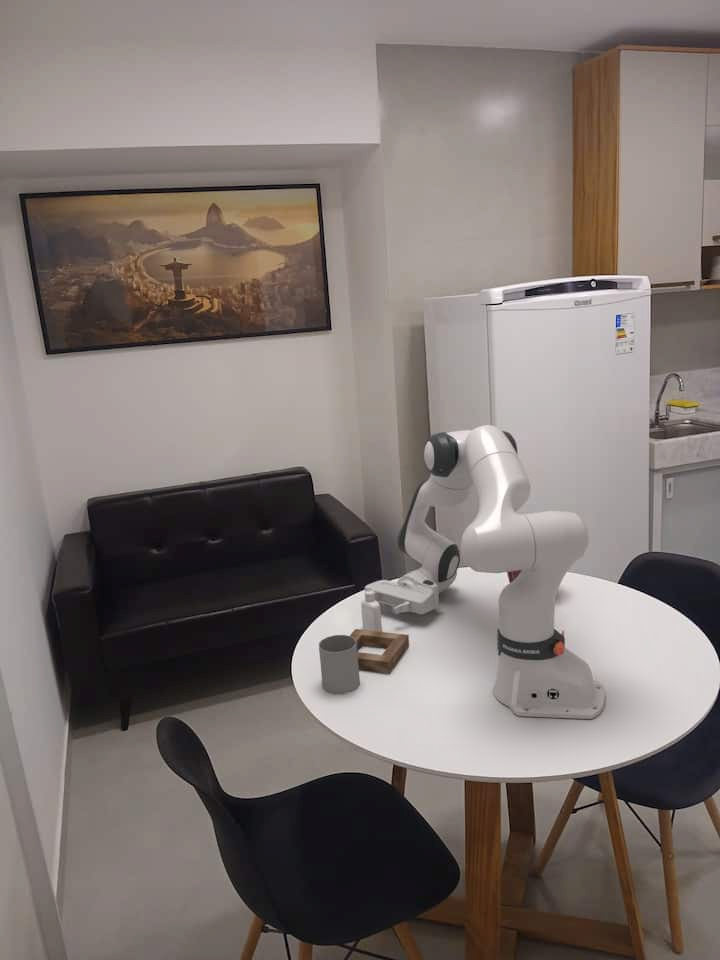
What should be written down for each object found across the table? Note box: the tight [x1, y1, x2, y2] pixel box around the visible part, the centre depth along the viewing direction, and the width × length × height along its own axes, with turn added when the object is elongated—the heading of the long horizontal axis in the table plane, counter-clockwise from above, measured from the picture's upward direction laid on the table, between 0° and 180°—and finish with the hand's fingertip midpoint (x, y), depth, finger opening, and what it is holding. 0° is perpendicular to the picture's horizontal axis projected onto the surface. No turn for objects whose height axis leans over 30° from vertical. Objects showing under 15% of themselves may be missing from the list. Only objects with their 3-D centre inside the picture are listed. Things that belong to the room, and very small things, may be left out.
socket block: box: [349, 628, 410, 675], centre depth 174 cm, size 14×14×3 cm
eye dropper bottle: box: [360, 587, 383, 632], centre depth 186 cm, size 4×6×12 cm
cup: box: [318, 634, 361, 695], centre depth 161 cm, size 8×8×10 cm
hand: (379, 606), depth 188 cm, fingers open, 8 cm apart
